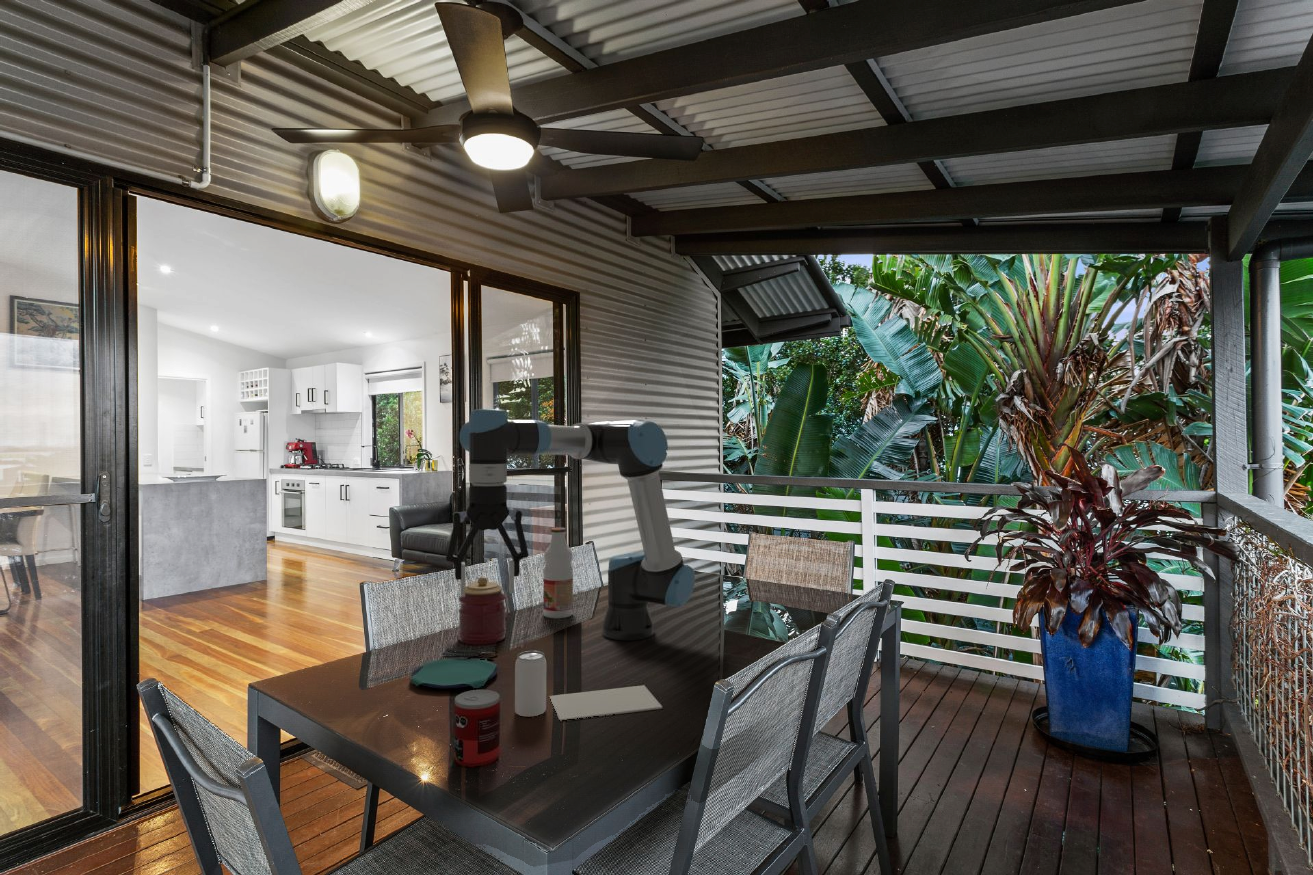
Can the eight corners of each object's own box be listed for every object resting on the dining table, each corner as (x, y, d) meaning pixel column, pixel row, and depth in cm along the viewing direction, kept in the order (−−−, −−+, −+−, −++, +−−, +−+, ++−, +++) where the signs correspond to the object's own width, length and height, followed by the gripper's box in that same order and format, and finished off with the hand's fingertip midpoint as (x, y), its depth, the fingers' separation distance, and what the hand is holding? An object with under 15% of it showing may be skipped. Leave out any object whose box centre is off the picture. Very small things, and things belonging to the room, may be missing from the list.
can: (551, 708, 146) (552, 652, 146) (536, 720, 140) (537, 661, 139) (524, 704, 148) (525, 648, 148) (508, 715, 142) (509, 657, 142)
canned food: (458, 748, 127) (459, 689, 127) (502, 747, 127) (502, 688, 127) (449, 768, 119) (450, 705, 119) (496, 767, 120) (496, 704, 120)
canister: (482, 648, 186) (483, 583, 186) (448, 641, 192) (448, 578, 192) (515, 636, 197) (515, 575, 197) (481, 629, 203) (482, 570, 203)
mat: (549, 697, 151) (549, 695, 151) (644, 686, 158) (644, 685, 158) (559, 721, 139) (559, 719, 139) (662, 708, 146) (662, 706, 146)
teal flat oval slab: (397, 693, 153) (398, 683, 153) (440, 653, 183) (440, 644, 183) (486, 695, 153) (486, 685, 153) (514, 654, 183) (514, 646, 183)
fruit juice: (569, 619, 215) (570, 530, 215) (540, 618, 216) (540, 530, 216) (574, 611, 225) (575, 526, 225) (546, 610, 225) (546, 526, 225)
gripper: (432, 486, 134) (431, 601, 134) (543, 484, 140) (543, 594, 141) (432, 483, 141) (431, 593, 141) (538, 482, 148) (537, 586, 148)
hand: (487, 593), depth 141 cm, fingers open, 9 cm apart
